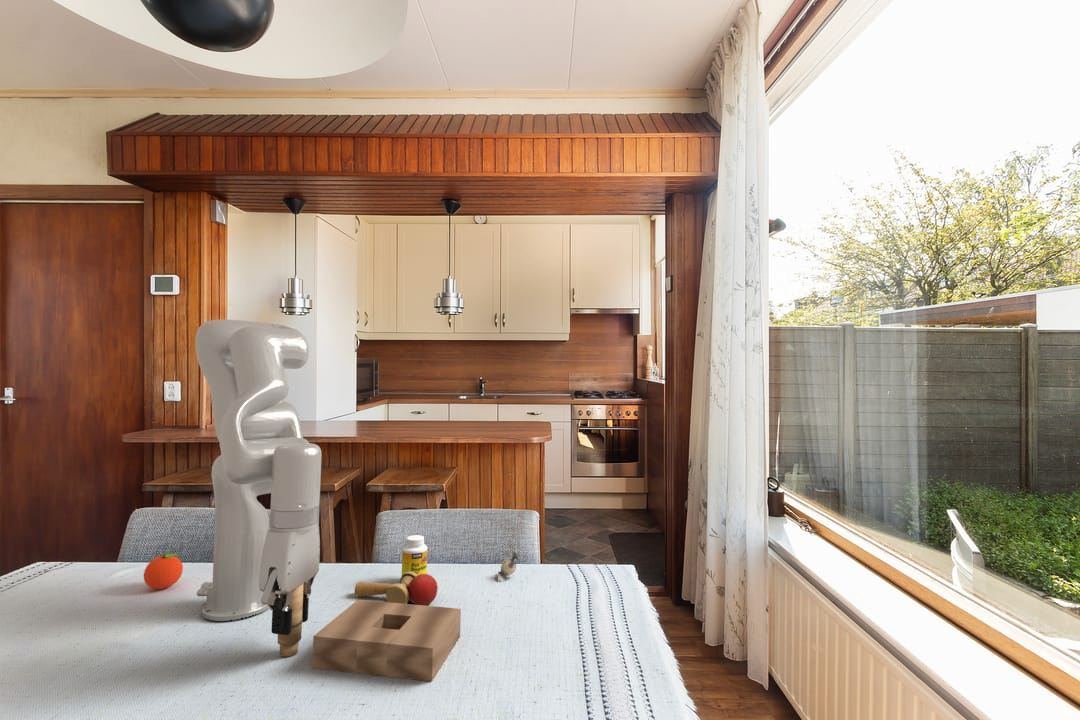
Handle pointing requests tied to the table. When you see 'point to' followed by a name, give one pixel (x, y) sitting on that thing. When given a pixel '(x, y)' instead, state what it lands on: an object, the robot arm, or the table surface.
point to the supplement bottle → (414, 555)
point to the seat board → (388, 640)
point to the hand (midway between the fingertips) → (290, 625)
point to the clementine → (163, 571)
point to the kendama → (402, 589)
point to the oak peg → (293, 624)
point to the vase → (508, 567)
